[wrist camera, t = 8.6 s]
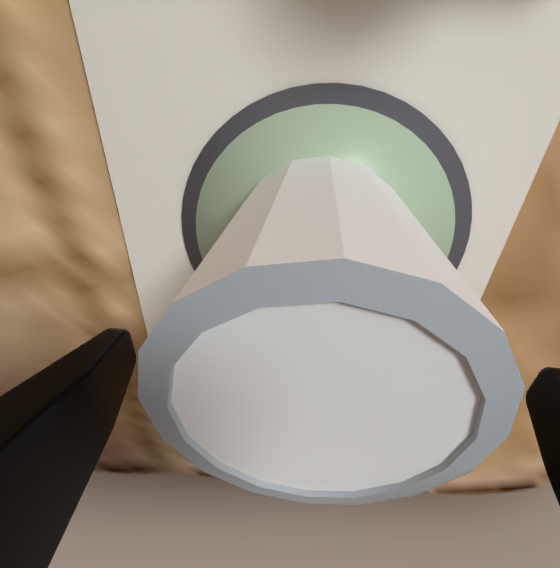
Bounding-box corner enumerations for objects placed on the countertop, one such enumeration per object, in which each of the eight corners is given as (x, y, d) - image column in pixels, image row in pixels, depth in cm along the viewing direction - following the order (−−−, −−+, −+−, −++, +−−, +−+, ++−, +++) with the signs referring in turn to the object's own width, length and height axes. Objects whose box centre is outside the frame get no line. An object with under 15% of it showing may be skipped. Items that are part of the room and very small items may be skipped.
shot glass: (407, 95, 10) (531, 195, 4) (438, 295, 13) (528, 499, 8) (182, 176, 12) (48, 324, 6) (263, 332, 15) (228, 519, 9)
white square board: (151, 335, 16) (147, 342, 16) (61, -61, 9) (50, -65, 8) (448, 362, 16) (451, 369, 15) (622, -43, 8) (636, -46, 8)
